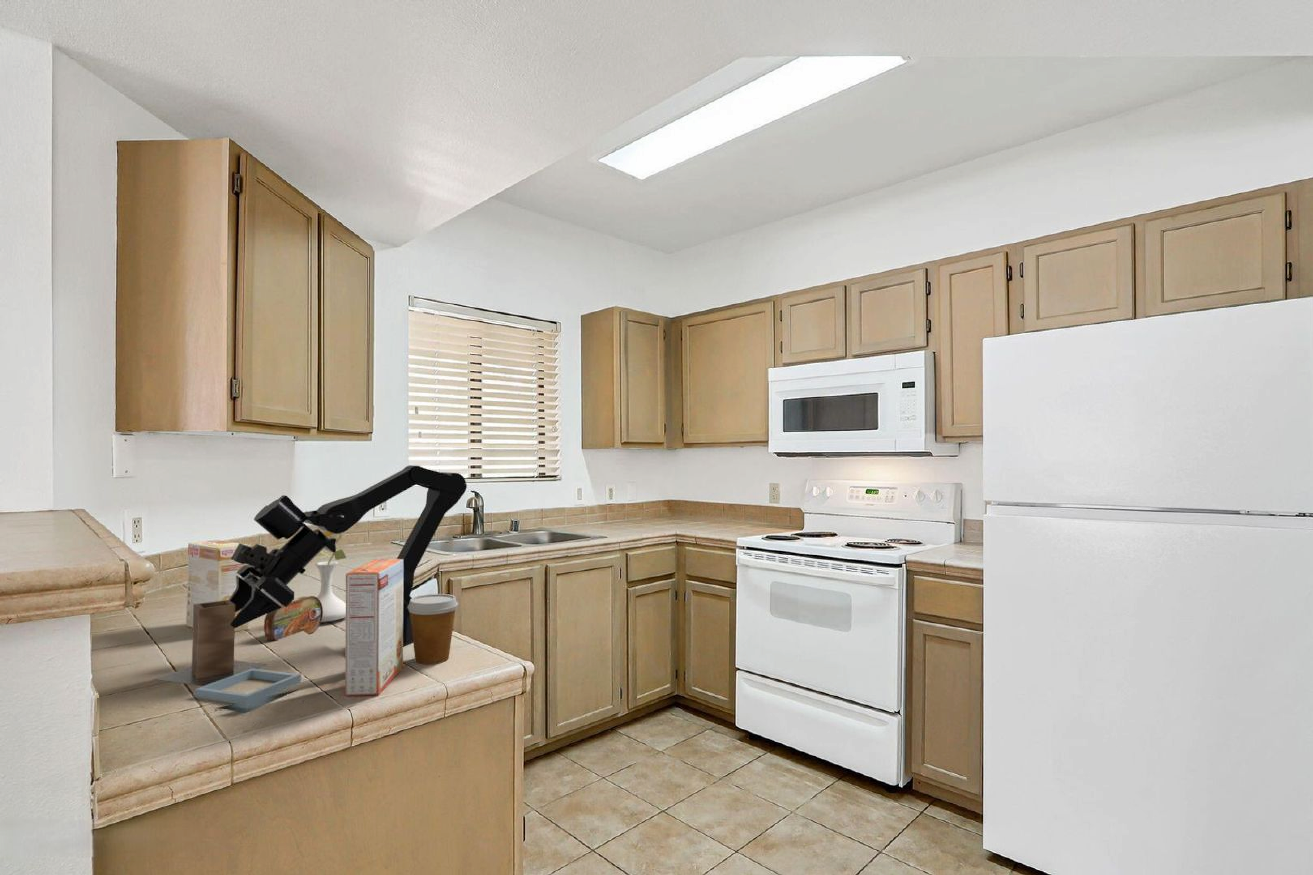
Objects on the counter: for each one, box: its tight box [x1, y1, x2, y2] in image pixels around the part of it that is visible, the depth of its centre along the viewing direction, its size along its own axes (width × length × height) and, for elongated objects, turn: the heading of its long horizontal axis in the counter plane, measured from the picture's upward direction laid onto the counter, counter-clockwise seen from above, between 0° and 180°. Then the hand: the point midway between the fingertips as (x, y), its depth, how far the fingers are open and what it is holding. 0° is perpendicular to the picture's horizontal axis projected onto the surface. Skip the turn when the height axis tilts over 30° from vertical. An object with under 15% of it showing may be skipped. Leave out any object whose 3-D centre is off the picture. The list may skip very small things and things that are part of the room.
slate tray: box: [194, 668, 302, 713], centre depth 108 cm, size 11×11×2 cm
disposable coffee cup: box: [407, 593, 459, 665], centre depth 129 cm, size 10×10×12 cm
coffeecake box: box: [185, 539, 251, 633], centre depth 150 cm, size 15×7×20 cm, turn 58°
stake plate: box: [154, 659, 268, 687], centre depth 117 cm, size 12×12×5 cm
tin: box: [263, 595, 323, 641], centre depth 143 cm, size 15×3×8 cm, turn 168°
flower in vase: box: [314, 526, 347, 623], centre depth 158 cm, size 13×11×25 cm
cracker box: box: [344, 558, 404, 697], centre depth 116 cm, size 14×6×21 cm, turn 5°
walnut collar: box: [191, 600, 236, 679], centre depth 117 cm, size 5×5×12 cm
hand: (226, 621), depth 119 cm, fingers open, 9 cm apart
